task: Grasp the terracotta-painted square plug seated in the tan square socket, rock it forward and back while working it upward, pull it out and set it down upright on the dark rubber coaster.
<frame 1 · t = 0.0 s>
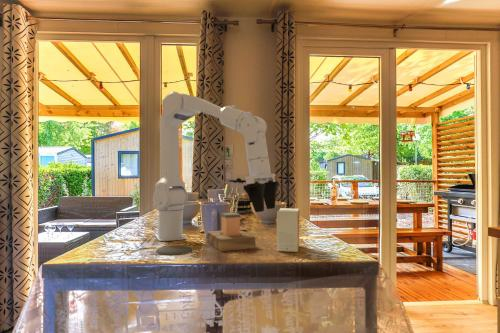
hand: (265, 210, 89), 11 cm above the table, tool pointing down, fingers open, 7 cm apart
coaster: (174, 250, 87), on the table
small box: (288, 249, 91), on the table
plug: (230, 229, 95), in the tan square socket
tan square socket: (230, 244, 94), on the table
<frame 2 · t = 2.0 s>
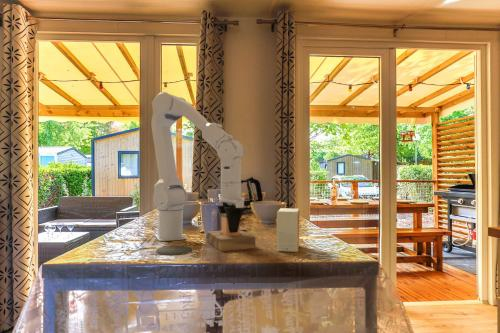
hand: (230, 230, 95), 4 cm above the table, tool pointing down, fingers closed on plug, 4 cm apart
plug: (230, 229, 95), in the tan square socket, touching gripper
everything else where it was.
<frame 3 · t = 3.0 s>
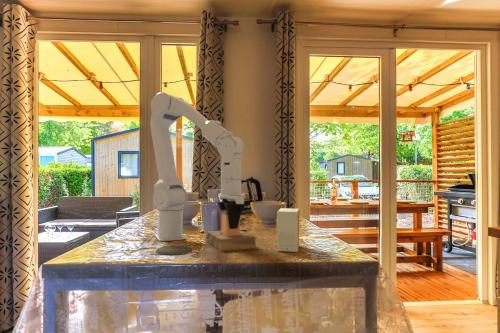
hand: (230, 227, 94), 5 cm above the table, tool pointing down, fingers closed on plug, 4 cm apart
plug: (230, 226, 94), in the tan square socket, point 5 cm above the table, touching gripper
everything else where it was.
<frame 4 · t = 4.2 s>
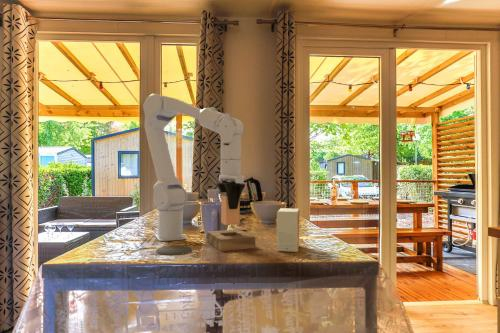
hand: (230, 208, 95), 10 cm above the table, tool pointing down, fingers closed on plug, 4 cm apart
plug: (230, 208, 95), point 10 cm above the table, touching gripper
everything else where it was.
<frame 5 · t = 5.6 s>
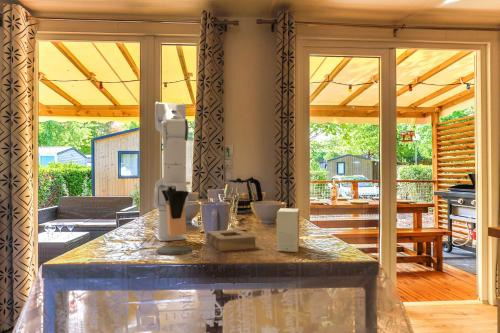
hand: (174, 217, 87), 9 cm above the table, tool pointing down, fingers closed on plug, 4 cm apart
plug: (176, 217, 87), point 9 cm above the table, touching gripper
everything else where it was.
when the fingers open (5 cm above the table, at t = 6.5 s): plug stays where it is, resting on coaster.
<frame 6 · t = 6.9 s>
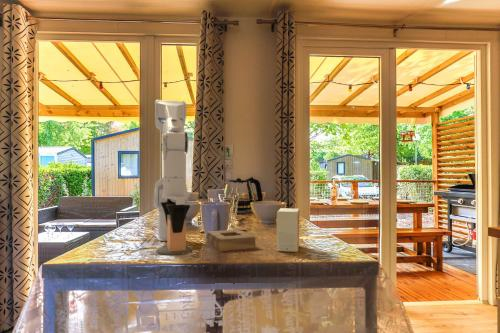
hand: (174, 230, 87), 5 cm above the table, tool pointing down, fingers open, 7 cm apart
plug: (176, 232, 87), on the coaster
everything else where it was.
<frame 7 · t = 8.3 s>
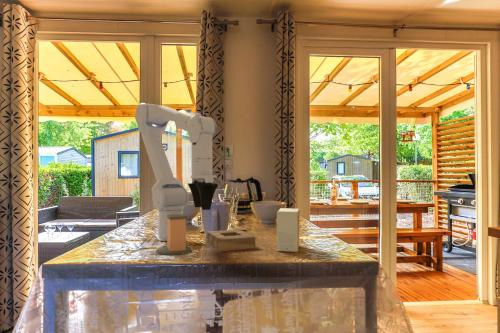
hand: (202, 208, 93), 10 cm above the table, tool pointing down, fingers open, 7 cm apart
nothing on the table moved.
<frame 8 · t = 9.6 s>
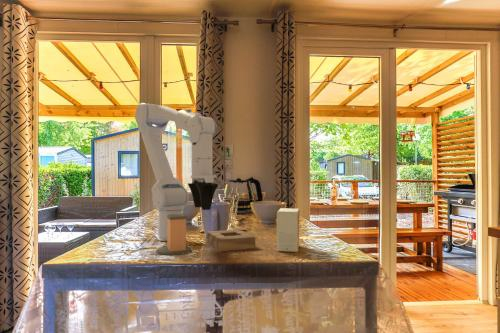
hand: (202, 208, 93), 10 cm above the table, tool pointing down, fingers open, 7 cm apart
nothing on the table moved.
at the end: plug 0.6 cm from the coaster (horizontally); plug tilted 0°; the gripper is holding nothing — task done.
